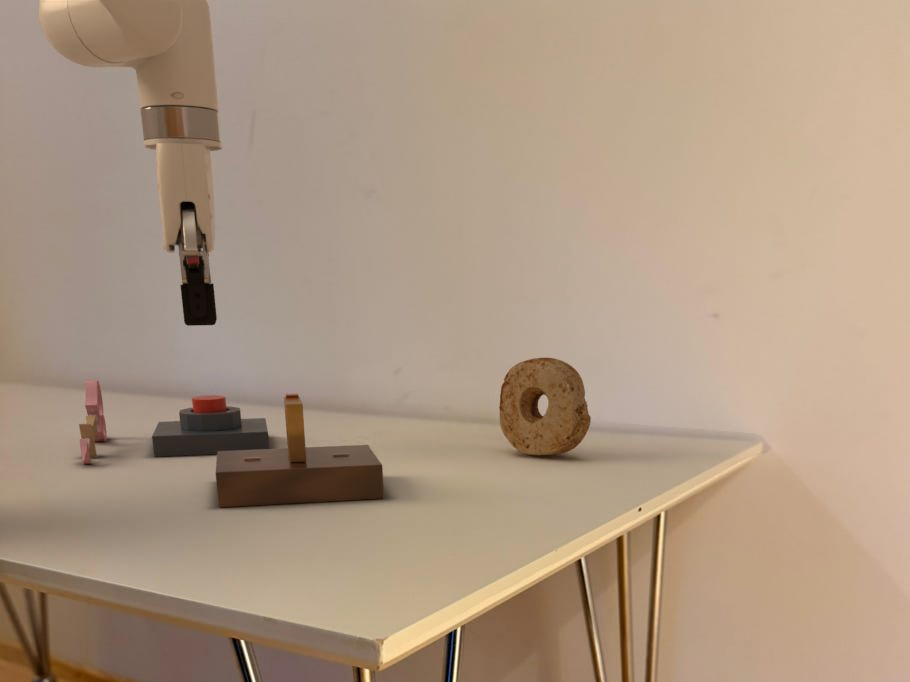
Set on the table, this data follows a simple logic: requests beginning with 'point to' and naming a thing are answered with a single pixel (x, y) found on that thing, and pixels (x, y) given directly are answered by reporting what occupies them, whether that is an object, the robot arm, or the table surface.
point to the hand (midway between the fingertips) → (201, 321)
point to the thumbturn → (295, 428)
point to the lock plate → (298, 476)
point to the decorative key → (92, 422)
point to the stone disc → (563, 414)
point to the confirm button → (209, 404)
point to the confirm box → (209, 433)
